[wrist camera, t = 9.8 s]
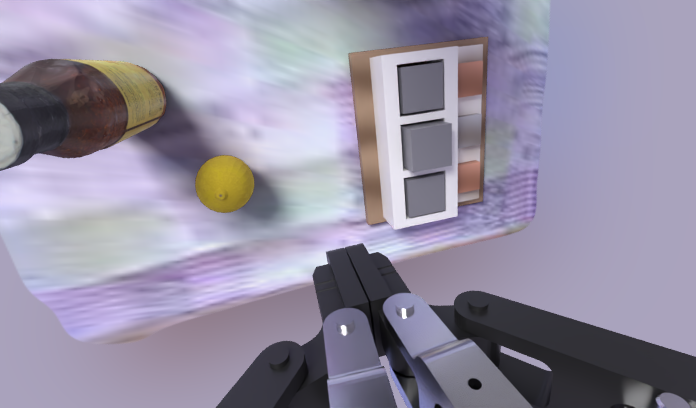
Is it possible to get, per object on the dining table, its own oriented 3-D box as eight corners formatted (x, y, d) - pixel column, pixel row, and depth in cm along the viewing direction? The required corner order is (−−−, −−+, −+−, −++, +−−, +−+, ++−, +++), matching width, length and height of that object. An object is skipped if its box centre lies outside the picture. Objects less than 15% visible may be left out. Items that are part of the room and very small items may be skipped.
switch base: (348, 53, 36) (353, 51, 34) (482, 37, 39) (495, 35, 36) (366, 222, 43) (371, 229, 41) (478, 198, 46) (488, 204, 44)
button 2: (396, 125, 37) (410, 130, 33) (433, 119, 37) (451, 123, 34) (398, 163, 38) (412, 172, 35) (434, 157, 39) (452, 165, 35)
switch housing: (369, 58, 36) (381, 55, 32) (438, 49, 37) (457, 45, 33) (383, 216, 42) (394, 229, 39) (441, 204, 44) (457, 216, 40)
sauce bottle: (117, 47, 31) (-91, 2, 13) (181, 90, 34) (81, 101, 15) (83, 106, 32) (-154, 139, 14) (148, 144, 35) (17, 214, 16)
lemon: (259, 155, 37) (258, 173, 30) (250, 201, 39) (246, 229, 32) (207, 143, 36) (192, 159, 28) (199, 191, 37) (182, 218, 30)
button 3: (394, 172, 40) (407, 181, 37) (428, 165, 41) (444, 174, 37) (397, 205, 42) (409, 217, 38) (429, 199, 43) (444, 210, 39)
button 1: (387, 68, 36) (401, 67, 32) (425, 64, 37) (442, 62, 33) (390, 110, 38) (403, 113, 34) (426, 105, 38) (443, 107, 35)
